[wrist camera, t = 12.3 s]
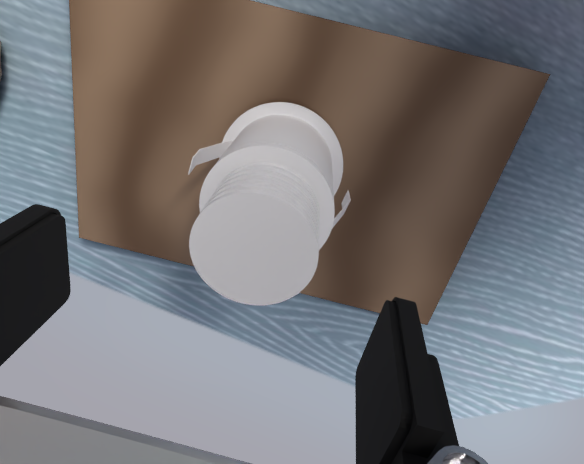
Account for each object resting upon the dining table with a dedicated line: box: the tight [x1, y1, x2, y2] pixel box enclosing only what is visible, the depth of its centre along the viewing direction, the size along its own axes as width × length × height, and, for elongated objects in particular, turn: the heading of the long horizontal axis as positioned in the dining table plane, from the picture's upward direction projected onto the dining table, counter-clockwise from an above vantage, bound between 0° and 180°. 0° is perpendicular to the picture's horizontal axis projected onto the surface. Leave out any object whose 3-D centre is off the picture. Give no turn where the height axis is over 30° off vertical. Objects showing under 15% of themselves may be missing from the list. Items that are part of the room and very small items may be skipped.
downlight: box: [188, 102, 351, 305], centre depth 18 cm, size 8×7×10 cm
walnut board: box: [69, 0, 550, 325], centre depth 24 cm, size 24×16×2 cm, turn 78°
